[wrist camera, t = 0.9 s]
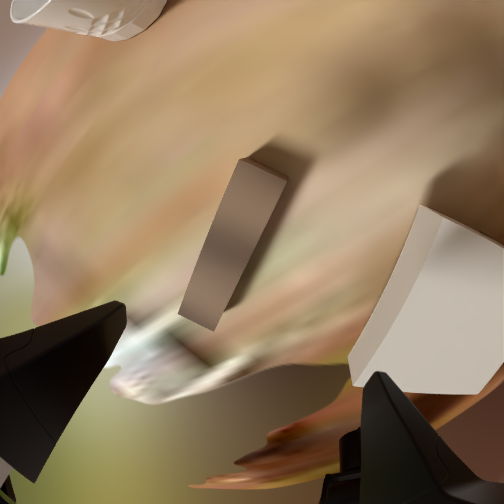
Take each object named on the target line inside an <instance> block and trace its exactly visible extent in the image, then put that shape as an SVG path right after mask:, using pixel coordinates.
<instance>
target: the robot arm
mask: <svg viewBox="0 0 504 504" xmlns="http://www.w3.org/2000/svg"><path fill="white" fill-rule="evenodd" d="M126 324H127V316H126V306H125V304H124V303H121V302H119V301H112V302H109V303H106V304H103V305H100V306H97V307H94V308H91V309H88V310H86V311H83V312H80V313H77V314H74V315H71V316H68V317H65V318H62V319H59V320H57V321H54V322H51V323H48V324H45V325H42V326H39V327H36V328H35V329H30V330H28V331H25V332H22V333H18V334H15V335H11V336H7V337H4V338H0V504H16V503H15V502H16V498H15V494H14V491H13V488H12V484H11V480H10V476H9V473H10V472H11V470H12V468H14V469H15V470H16V471H18V472H19V473H20V474H22V475H23V476H24V477H26V478H27V479H28V480H30V481H31V482H33V483H35V481H36V480H37V478H38V476H39V474H40V472H41V470H42V469H43V466H44V465H45V463H46V461H47V459H48V458H49V456H50V454H51V452H52V450H53V449H54V447H55V445H56V443H57V441H58V440H59V438H60V436H61V434H62V433H63V431H64V429H65V428H66V426H67V424H68V423H69V421H70V419H71V418H72V416H73V414H74V413H75V411H76V409H77V408H78V406H79V405H80V403H81V402H82V400H83V398H84V397H85V395H86V394H87V392H88V390H89V389H90V387H91V385H92V384H93V383H94V381H95V379H96V378H97V377H98V375H99V373H100V372H101V371H102V369H103V368H104V366H105V365H106V363H107V361H108V360H109V358H110V356H111V354H112V352H113V350H114V349H115V347H116V345H117V343H118V341H119V339H120V337H121V335H122V333H123V331H124V330H125V328H126ZM339 451H340V473H334V474H326V475H325V479H324V483H323V488H322V494H321V498H320V501H319V504H504V483H498V482H490V481H485V480H483V479H481V478H479V477H477V476H476V475H475V474H474V473H473V472H472V471H471V470H470V469H469V468H468V466H467V465H466V464H465V463H464V462H462V460H461V459H460V458H459V457H457V455H456V454H455V453H454V452H453V451H452V450H451V449H450V448H449V447H448V445H447V444H446V443H445V442H444V441H443V439H442V438H441V437H440V436H438V433H437V432H436V431H435V430H434V428H433V427H432V426H431V425H430V424H429V422H428V421H427V420H426V419H425V418H424V416H423V415H422V414H421V413H420V412H419V410H418V409H417V408H416V407H415V406H414V405H413V403H412V402H411V401H410V400H409V399H408V397H407V396H406V395H405V394H404V393H403V392H402V390H401V389H400V388H399V387H398V386H397V385H396V383H395V382H394V381H393V380H392V379H391V378H390V376H389V375H388V374H387V373H386V372H381V371H375V372H374V373H373V374H372V376H371V377H370V379H369V380H368V381H367V383H366V384H365V386H364V388H363V397H362V413H361V427H359V428H358V429H357V430H354V431H352V432H349V433H347V434H345V435H344V436H343V437H341V439H340V440H339Z"/></svg>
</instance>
